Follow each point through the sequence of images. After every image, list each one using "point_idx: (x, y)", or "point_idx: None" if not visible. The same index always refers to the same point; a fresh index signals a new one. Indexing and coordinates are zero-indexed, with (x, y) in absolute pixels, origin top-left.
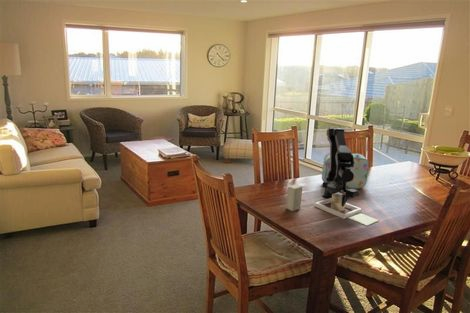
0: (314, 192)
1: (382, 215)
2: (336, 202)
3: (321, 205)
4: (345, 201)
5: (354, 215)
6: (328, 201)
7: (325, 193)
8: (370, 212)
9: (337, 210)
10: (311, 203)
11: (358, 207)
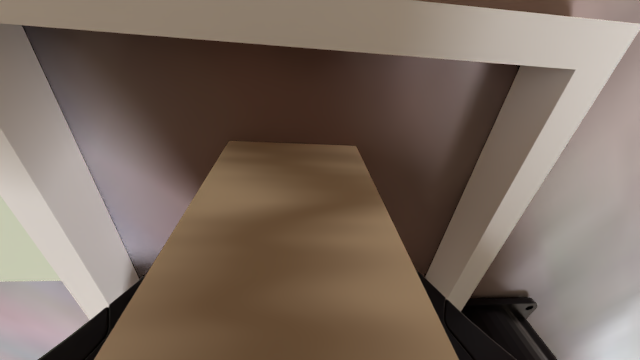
0: (605, 307)
1: (23, 355)
2: (267, 217)
3: (491, 8)
4: None
5: None
6: (452, 254)
7: (532, 337)
8: None
9: (247, 147)
10: (624, 89)
11: None
